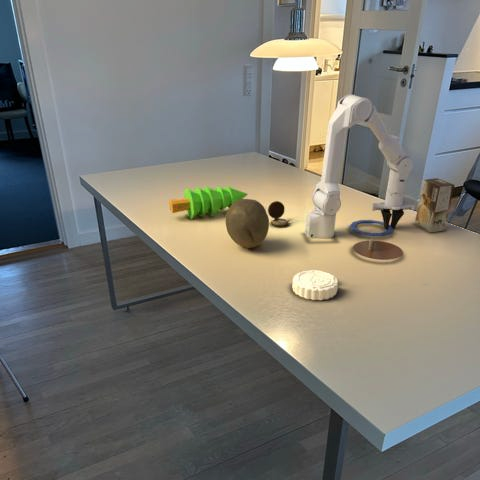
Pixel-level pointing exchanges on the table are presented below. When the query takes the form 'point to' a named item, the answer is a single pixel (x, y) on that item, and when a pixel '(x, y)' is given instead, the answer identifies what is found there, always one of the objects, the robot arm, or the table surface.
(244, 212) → the brown coconut
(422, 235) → the table surface
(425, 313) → the table surface
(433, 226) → the coffee box
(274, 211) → the compass
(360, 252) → the platform
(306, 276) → the mooncake
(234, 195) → the decorative tree
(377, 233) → the ring
